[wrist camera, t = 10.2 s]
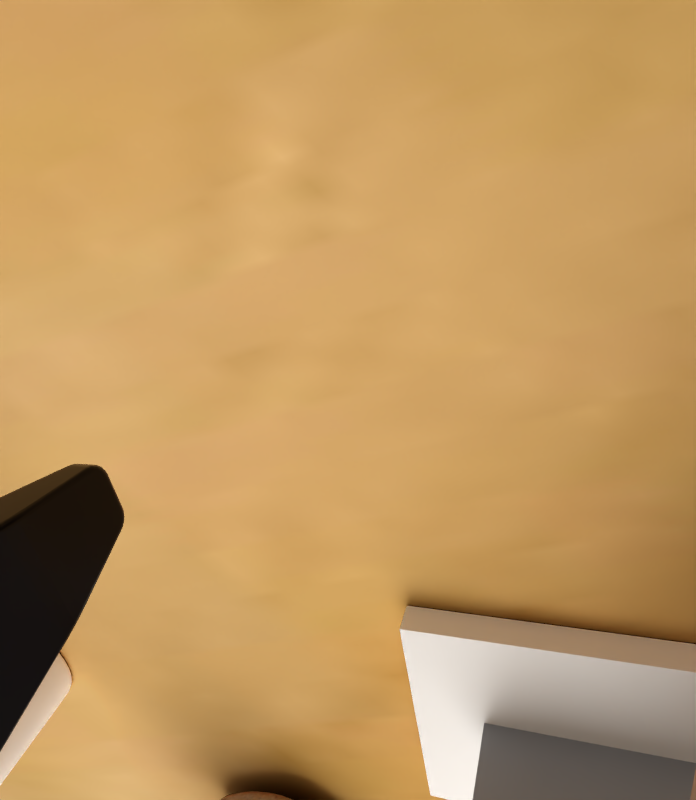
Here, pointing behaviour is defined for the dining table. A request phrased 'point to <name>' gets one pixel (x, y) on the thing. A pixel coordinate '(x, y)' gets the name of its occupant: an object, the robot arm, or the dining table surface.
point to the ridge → (549, 710)
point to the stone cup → (255, 796)
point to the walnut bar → (693, 788)
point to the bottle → (36, 714)
